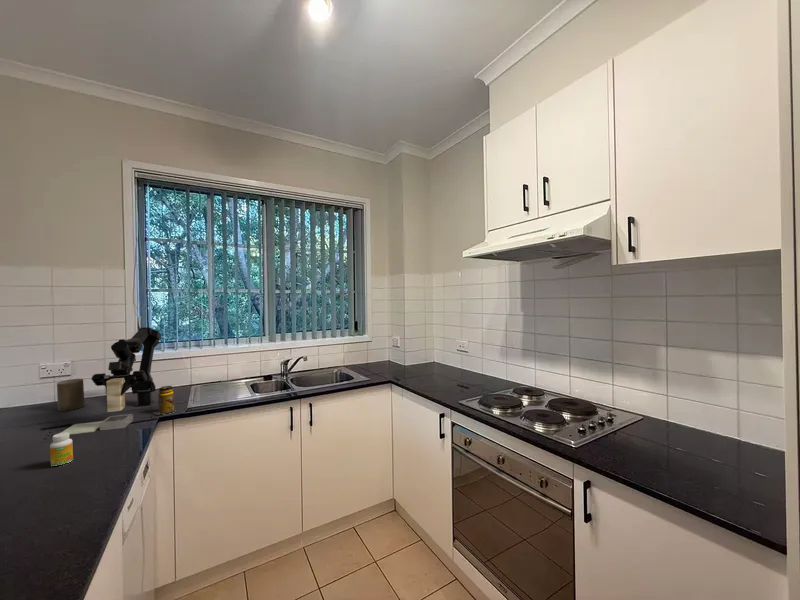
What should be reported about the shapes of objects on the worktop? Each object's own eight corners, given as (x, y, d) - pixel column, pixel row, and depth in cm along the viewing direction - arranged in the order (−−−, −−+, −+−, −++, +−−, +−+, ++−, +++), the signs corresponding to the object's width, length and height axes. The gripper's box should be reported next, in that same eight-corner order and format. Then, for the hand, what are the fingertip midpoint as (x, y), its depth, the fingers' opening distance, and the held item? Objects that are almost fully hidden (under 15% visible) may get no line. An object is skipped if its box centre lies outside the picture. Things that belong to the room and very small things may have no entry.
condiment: (176, 412, 164) (175, 387, 164) (154, 416, 158) (154, 390, 158) (173, 408, 169) (172, 384, 169) (152, 412, 163) (151, 387, 163)
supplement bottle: (53, 469, 111) (52, 439, 111) (48, 464, 114) (47, 435, 114) (75, 461, 116) (74, 433, 116) (70, 458, 119) (69, 430, 119)
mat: (74, 425, 149) (74, 424, 149) (108, 421, 153) (108, 420, 153) (56, 436, 138) (56, 435, 138) (93, 431, 141) (93, 430, 141)
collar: (109, 423, 151) (109, 416, 151) (133, 420, 153) (132, 413, 153) (99, 430, 143) (99, 423, 143) (124, 427, 145) (124, 420, 145)
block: (112, 408, 149) (111, 378, 149) (125, 407, 151) (124, 377, 150) (107, 412, 145) (106, 381, 145) (120, 410, 146) (119, 380, 146)
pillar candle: (87, 406, 173) (86, 377, 173) (61, 412, 165) (60, 381, 165) (80, 404, 178) (79, 375, 178) (54, 409, 170) (53, 379, 170)
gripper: (92, 355, 148) (78, 387, 138) (143, 352, 154) (134, 383, 144) (102, 369, 156) (90, 401, 146) (151, 366, 162) (142, 396, 151)
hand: (114, 395), depth 146 cm, fingers closed on block, 4 cm apart
